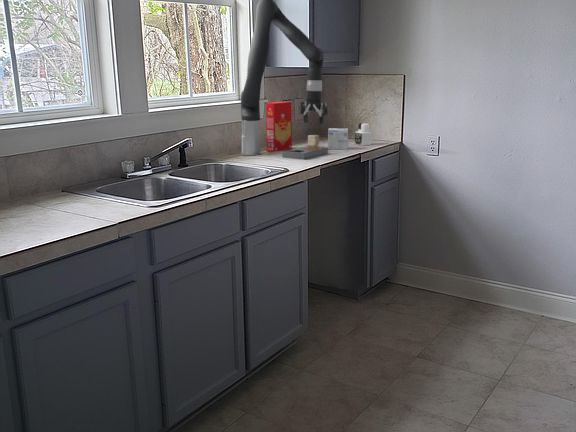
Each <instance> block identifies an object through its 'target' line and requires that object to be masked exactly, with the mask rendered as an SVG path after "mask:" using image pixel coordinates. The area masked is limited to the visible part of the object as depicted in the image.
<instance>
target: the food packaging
mask: <svg viewBox="0 0 576 432" xmlns="http://www.w3.org/2000/svg"><path fill="white" fill-rule="evenodd" d="M292 105H293V104H292V101H274V102H266V103H265V111H266V112H265V123H266V124H265V126H266V127H265V130H266V133H265V134H266V138H265V139H266V141H265V142H266V152H267V153H275V152H281V151H286V150H290V149H293V145H292V144H293V143H292V142H293V140H292V138H293V135H292V133H293V132H292V127H293V126H292V124H293V123H292V122H293V121H292V119H293V118H292V115H293V114H292V112H293V110H292V109H293V108H292Z"/></svg>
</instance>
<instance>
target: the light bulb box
mask: <svg viewBox="0 0 576 432" xmlns="http://www.w3.org/2000/svg"><path fill="white" fill-rule="evenodd" d="M327 138H328V139H327V148H328V150H348V148H349V128H347V127H346V128H344V127H343V128H340V127H339V128H338V127H337V128H330V127H329V128H328V130H327Z"/></svg>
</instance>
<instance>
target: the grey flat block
mask: <svg viewBox="0 0 576 432" xmlns="http://www.w3.org/2000/svg"><path fill="white" fill-rule="evenodd" d="M328 154H329V149H328V146H327V147H325V146H324V145H323V146H322V145H319V147H318V148H308V145H305V146H301V147H295V148H292V149H285V150H282V158H284V159H285V158H286V159H294V160H303V161H305V160H308V159H312V158H316V157H320V156H324V155H328Z"/></svg>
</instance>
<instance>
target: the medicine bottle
mask: <svg viewBox="0 0 576 432" xmlns="http://www.w3.org/2000/svg"><path fill="white" fill-rule="evenodd" d="M354 145H357V146H372V145H373V132H372V131H370V123H368V122H360V123H358V130H357V131H355V133H354Z"/></svg>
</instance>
